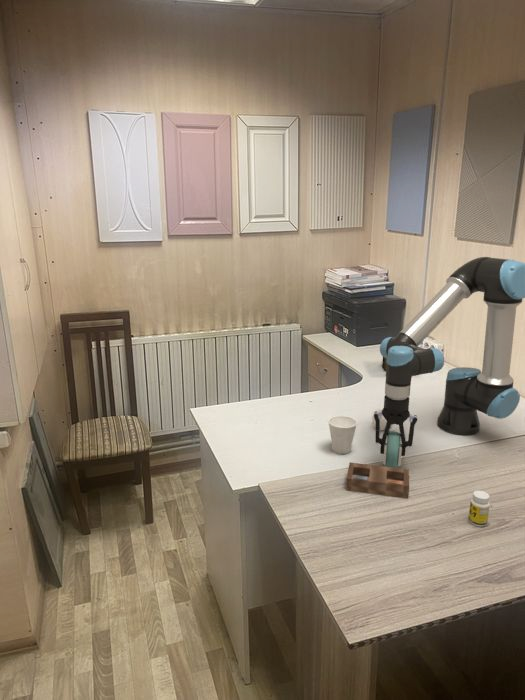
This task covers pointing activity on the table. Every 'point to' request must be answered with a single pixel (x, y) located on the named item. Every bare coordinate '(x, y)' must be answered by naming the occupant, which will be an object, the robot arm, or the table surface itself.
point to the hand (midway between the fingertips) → (391, 463)
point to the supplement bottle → (479, 508)
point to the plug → (392, 449)
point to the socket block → (378, 480)
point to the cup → (342, 433)
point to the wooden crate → (384, 364)
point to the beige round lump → (382, 421)
